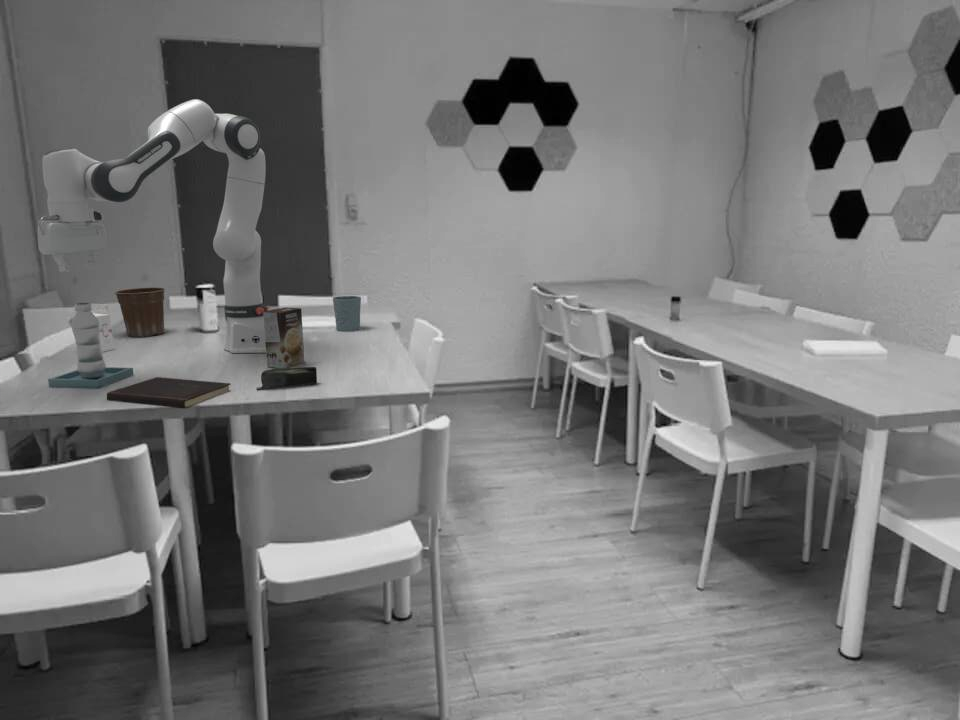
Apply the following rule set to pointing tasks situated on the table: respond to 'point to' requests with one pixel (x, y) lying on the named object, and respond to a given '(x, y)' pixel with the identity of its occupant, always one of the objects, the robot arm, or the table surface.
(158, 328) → the plant pot
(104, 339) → the ink cartridge box
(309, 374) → the black long block
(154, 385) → the hardcover book
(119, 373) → the tray
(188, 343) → the table surface
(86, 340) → the plastic bottle
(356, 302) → the blue cup
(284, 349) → the cookie box
